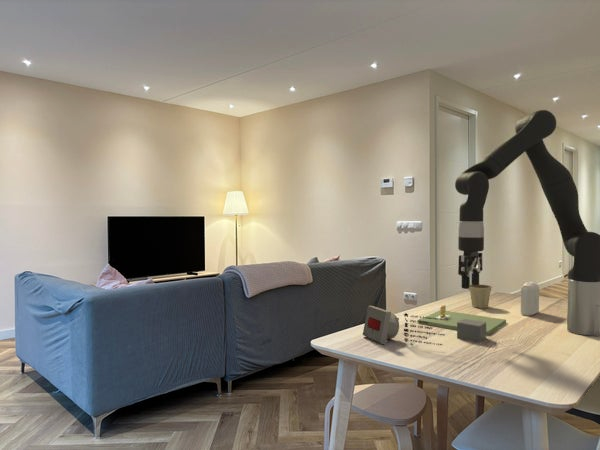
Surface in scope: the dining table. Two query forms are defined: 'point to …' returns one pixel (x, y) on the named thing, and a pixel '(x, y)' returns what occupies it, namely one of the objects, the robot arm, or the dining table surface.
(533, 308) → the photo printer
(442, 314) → the header pins
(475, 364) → the dining table surface
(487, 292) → the flower pot
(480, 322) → the block
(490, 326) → the board
